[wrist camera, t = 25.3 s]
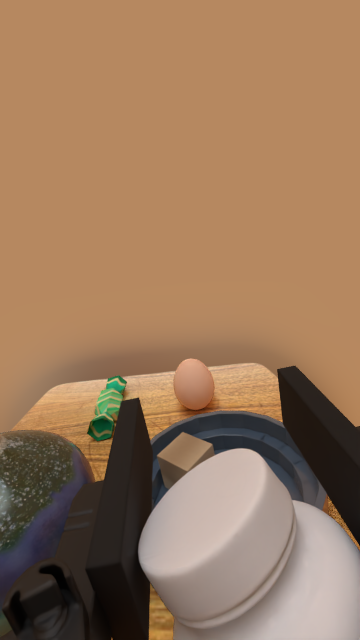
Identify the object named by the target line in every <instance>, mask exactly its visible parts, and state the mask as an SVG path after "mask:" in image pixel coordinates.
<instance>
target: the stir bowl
mask: <svg viewBox="0 0 360 640" xmlns="http://www.w3.org/2000/svg"><path fill="white" fill-rule="evenodd" d="M182 432H184V433H187V434H189V435H191V436H194V437H196V438H199V439H201V440H204V441H206V442H208V443H211V444H213V449H214V454H215V455H217V454H219V453H221V452H225V451H228V450H232V449H239V448H243V449H250V450H252V451H255V452H257V453H258V454H259V455H260V456H261V457H262V458H263V459H264V460H265V461H266V463H267V464H268V466H269V467H270V468H271V470H272V471H273V472H274V474H275V475H276V476H277V477H278V479H279V480H280V481H281V482H282V483H283V484H284V486H285V487H286V488H287V490H288V491H289V494H290V496H291V499H292V500H296V501H300V502H304V503H307V504H310V505H312V506H314V507H316V508H318V509H320V510H321V511H323V512H325V513H326V514H327V515H329V509H328V508H329V507H328V495H327V493H326V492H325V490H324V489H323V487H322V485H321V484H320V482H319V481H318V479H317V477H316V476H315V474H314V473H313V471H312V469H311V468H310V466H309V465H308V463H307V462H306V460H305V458H304V457H303V455H302V454H301V452H300V450H299V449H298V447H297V446H296V444H295V443H294V441H293V439H292V438H291V436H290V435H289V433H288V431H287V430H286V428H285V427H284V425H283V423H282V422H280V421H278V420H276V419H273V418H271V417H269V416H266V415H261V414H256V413H252V412H247V411H215V412H209V413H204V414H198V415H195V416H192V417H190V418H187V419H184V420H182V421H179V422H176V423H174V424H173V425H171V426H170V427H168V428H167V429H165V430H163V431H162V432H160V433H159V434H157V435H156V436H154V437H153V438H152V440H151V441H150V442H151V446H152V449H153V474H152V511H153V510H154V508H155V507H156V505H157V504H158V503H159V501H160V500H161V499H162V498H163V496H164V495H165V494H166V493H167V492H168V490H169V489H168V488H166V487H165V485H164V481H163V477H162V474H161V470H160V466H159V462H158V458H157V455H158V454H159V453H160V452H161V451H162V450H163V449H165V448H166V447H167V446H168V445H169V444H170V443H171V442H172V441H173V440H174V439H176V438H177V437H178V436H179V435H180V434H181V433H182Z"/></svg>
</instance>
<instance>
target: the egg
mask: <svg viewBox="0 0 360 640" xmlns="http://www.w3.org/2000/svg"><path fill="white" fill-rule="evenodd" d="M174 391H175V395H176V397H177V399H178V400H179V402H180V403H181V404H182V405H184V406H185V407H187V408H189V409H192V410H199V409H202V408H204V407H205V406H207V405H208V404H209V402H210V401H211V399H212V397H213V395H214V381H213V377H212V375H211V373H210V371H209V370H208V368H207V367H206V366H205V365H204V364H203V363H202V362H201V361H199V360H196V359H187V360H184V361H183V362H182V363H181V364H180V365H179V366H178V368H177V370H176V372H175V376H174Z"/></svg>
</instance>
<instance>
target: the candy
mask: <svg viewBox="0 0 360 640" xmlns="http://www.w3.org/2000/svg"><path fill="white" fill-rule="evenodd" d="M126 383H127V382H126V381H125V380H124V379H123V378H121V377H120V376H115V377H112V378H108V381H107V385H106V389H105V390H102V391H101V393H100V396H99V398H98V401H97V403H96V409H95V415H97V416H96V417H95V418H94V419H93V420H92V421H91V422H90V425H89V429H88V433H87V434H89V435H90V436H91V437H93V438H94V439H95V440H97V441H100V440H104V439H107V438H111V435H112V432H113V429H114V422H113V421H116V420H117V417H118V413H119V408H120V403H121V401H122V399H123V396H122V395H121V394H122V393H123V392H124V390H125V387H126Z"/></svg>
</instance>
